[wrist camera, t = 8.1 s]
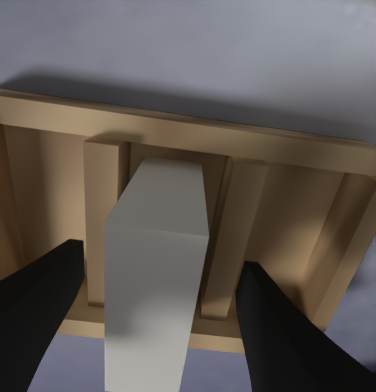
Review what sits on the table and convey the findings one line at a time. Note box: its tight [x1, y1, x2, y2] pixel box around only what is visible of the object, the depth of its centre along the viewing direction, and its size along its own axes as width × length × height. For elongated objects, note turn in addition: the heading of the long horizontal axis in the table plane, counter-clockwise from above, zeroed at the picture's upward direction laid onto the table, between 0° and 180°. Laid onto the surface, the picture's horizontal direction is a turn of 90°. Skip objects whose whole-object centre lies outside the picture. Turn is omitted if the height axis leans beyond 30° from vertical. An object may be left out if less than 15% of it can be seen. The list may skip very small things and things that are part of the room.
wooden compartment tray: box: [0, 89, 376, 354], centre depth 14 cm, size 20×12×5 cm, turn 82°
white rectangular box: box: [104, 156, 209, 392], centre depth 12 cm, size 3×8×7 cm, turn 173°
